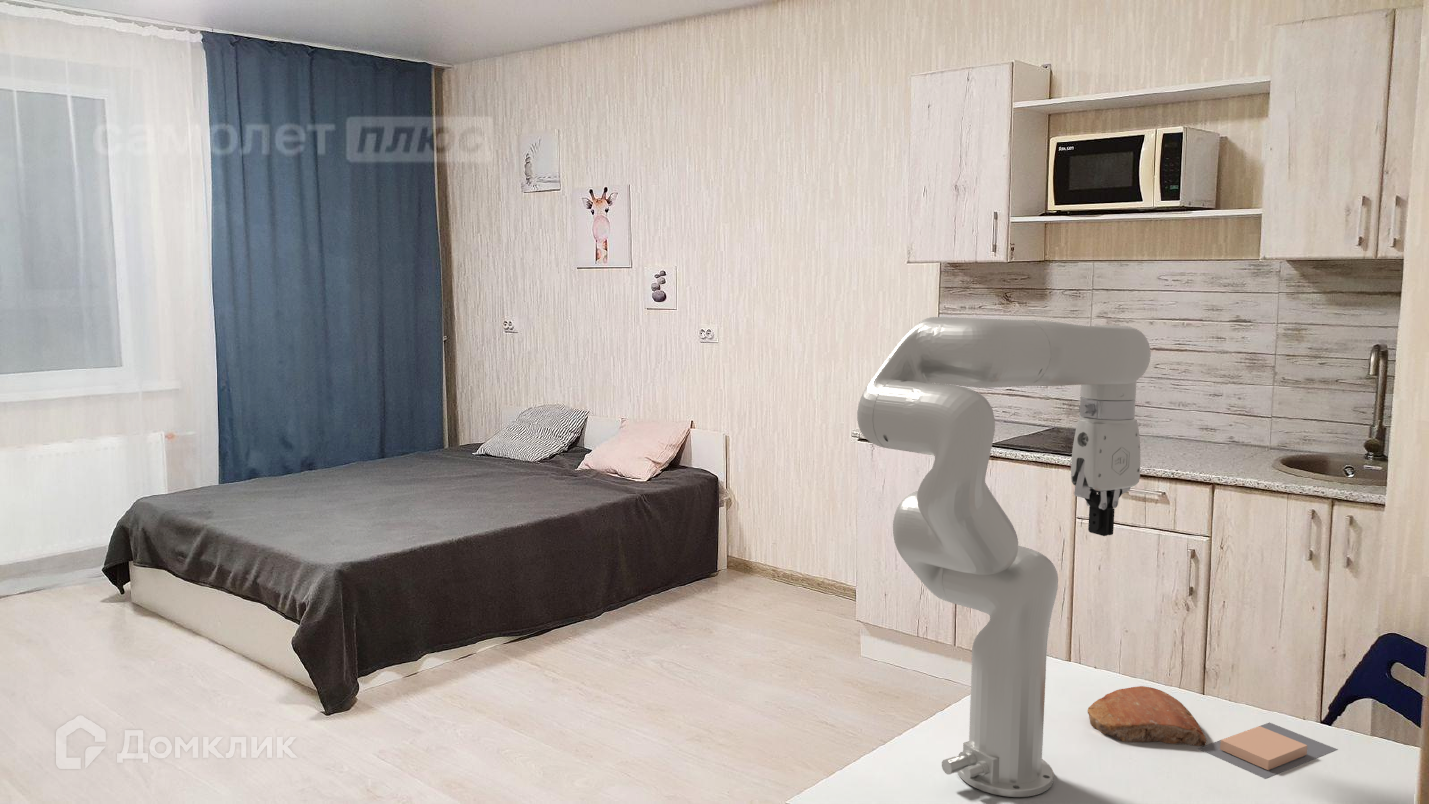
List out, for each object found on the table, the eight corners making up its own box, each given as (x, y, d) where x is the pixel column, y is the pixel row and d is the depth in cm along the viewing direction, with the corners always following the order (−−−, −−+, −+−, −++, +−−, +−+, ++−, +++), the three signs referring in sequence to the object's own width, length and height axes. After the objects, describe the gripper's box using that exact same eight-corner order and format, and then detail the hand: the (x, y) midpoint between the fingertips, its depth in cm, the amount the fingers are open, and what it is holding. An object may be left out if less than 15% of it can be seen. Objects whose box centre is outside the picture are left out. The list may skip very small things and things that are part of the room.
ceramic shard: (1074, 672, 160) (1169, 687, 160) (1067, 713, 160) (1163, 728, 160) (1108, 699, 146) (1213, 716, 145) (1101, 744, 146) (1206, 761, 145)
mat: (1265, 781, 136) (1265, 778, 136) (1197, 751, 145) (1197, 748, 145) (1337, 752, 145) (1337, 749, 145) (1269, 725, 153) (1269, 722, 153)
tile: (1306, 756, 143) (1267, 771, 138) (1258, 736, 149) (1220, 750, 144) (1307, 745, 142) (1268, 760, 138) (1259, 726, 148) (1220, 740, 144)
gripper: (1092, 417, 142) (1085, 545, 144) (1163, 410, 149) (1155, 533, 152) (1050, 410, 148) (1044, 534, 151) (1120, 404, 156) (1113, 522, 158)
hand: (1100, 533), depth 151 cm, fingers closed
